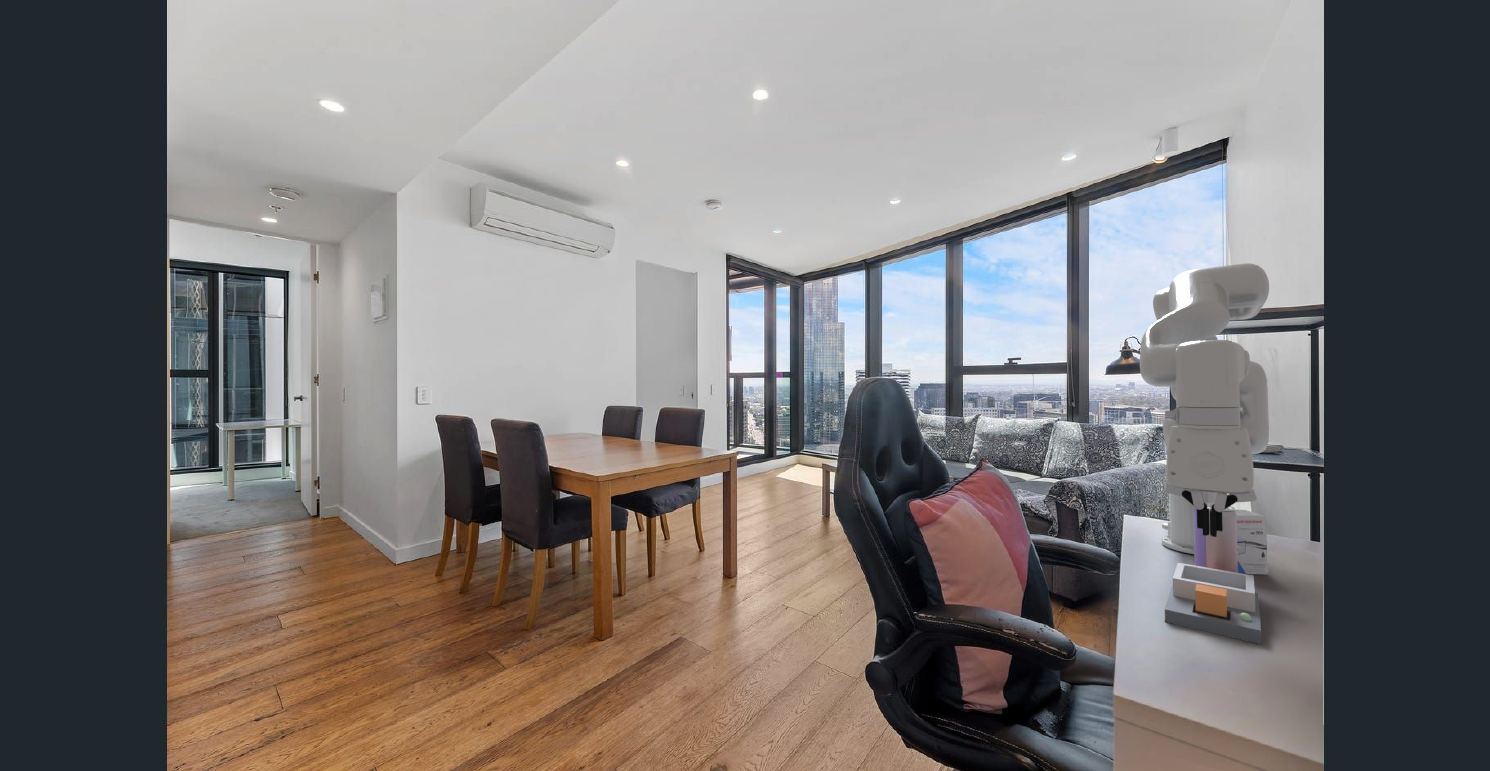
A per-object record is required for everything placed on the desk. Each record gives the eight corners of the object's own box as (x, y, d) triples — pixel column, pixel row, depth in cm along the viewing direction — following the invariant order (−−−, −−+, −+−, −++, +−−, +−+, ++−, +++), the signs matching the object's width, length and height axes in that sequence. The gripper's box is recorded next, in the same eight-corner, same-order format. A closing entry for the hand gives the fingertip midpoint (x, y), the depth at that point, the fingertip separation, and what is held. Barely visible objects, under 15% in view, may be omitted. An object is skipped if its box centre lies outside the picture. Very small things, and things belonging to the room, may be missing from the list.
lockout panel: (1175, 588, 96) (1174, 561, 96) (1258, 604, 89) (1257, 575, 89) (1164, 621, 83) (1164, 590, 83) (1261, 644, 76) (1260, 610, 76)
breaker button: (1197, 603, 85) (1196, 583, 85) (1227, 609, 82) (1226, 589, 82) (1195, 610, 82) (1195, 590, 82) (1226, 617, 79) (1226, 596, 79)
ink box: (1221, 574, 102) (1220, 515, 102) (1202, 565, 107) (1200, 509, 107) (1269, 575, 101) (1268, 515, 101) (1247, 566, 106) (1246, 509, 106)
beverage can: (1187, 582, 98) (1186, 504, 98) (1206, 578, 101) (1205, 501, 101) (1226, 594, 93) (1224, 511, 93) (1245, 589, 95) (1243, 507, 95)
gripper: (1145, 418, 84) (1147, 531, 84) (1276, 421, 74) (1279, 549, 74) (1150, 416, 90) (1152, 521, 90) (1273, 418, 79) (1276, 538, 79)
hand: (1209, 534), depth 82 cm, fingers closed
